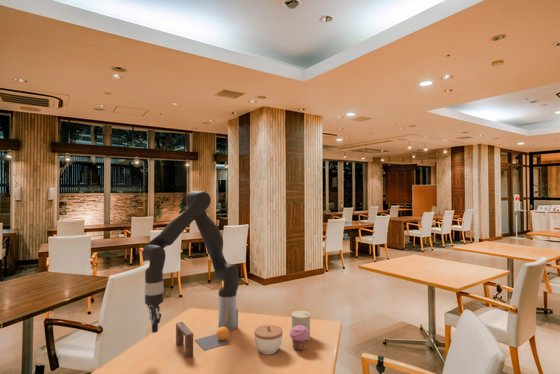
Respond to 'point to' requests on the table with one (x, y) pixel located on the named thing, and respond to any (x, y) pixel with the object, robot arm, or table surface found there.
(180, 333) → the bridge
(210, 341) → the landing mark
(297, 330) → the cupcake
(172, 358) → the table surface
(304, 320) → the can
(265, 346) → the lidded bowl
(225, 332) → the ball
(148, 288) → the robot arm
